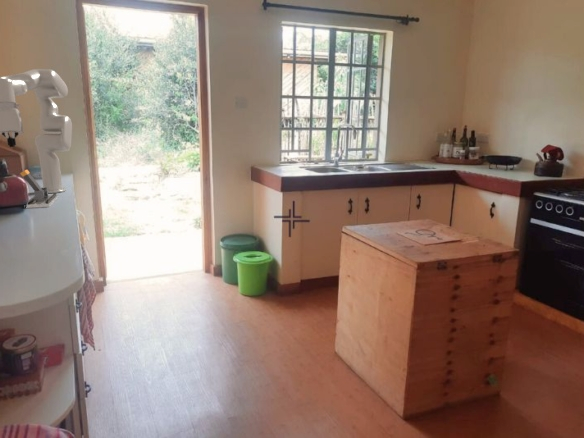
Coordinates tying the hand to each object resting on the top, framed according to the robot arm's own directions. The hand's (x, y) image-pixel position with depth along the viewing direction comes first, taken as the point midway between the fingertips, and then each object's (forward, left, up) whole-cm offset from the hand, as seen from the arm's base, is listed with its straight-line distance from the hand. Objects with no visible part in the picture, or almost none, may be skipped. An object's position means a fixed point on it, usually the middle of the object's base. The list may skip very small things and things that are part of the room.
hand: (12, 146), depth 211 cm
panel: (0, +10, -27) cm, 29 cm away
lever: (0, +10, -23) cm, 25 cm away
